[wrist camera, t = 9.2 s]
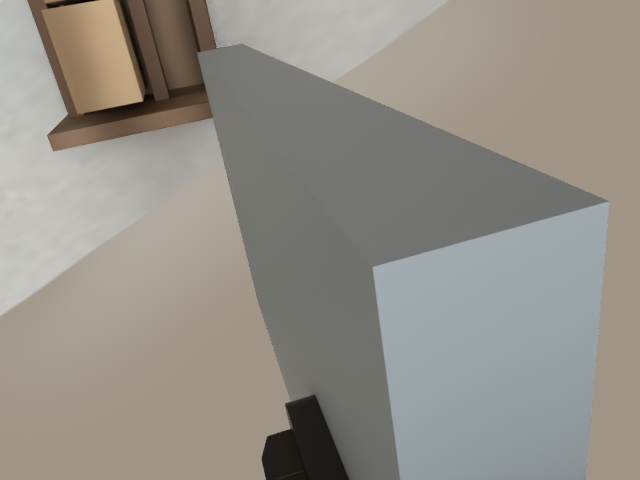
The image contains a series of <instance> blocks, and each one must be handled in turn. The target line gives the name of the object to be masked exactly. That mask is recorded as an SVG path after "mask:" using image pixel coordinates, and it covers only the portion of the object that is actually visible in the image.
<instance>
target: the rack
mask: <svg viewBox="0 0 640 480" xmlns="http://www.w3.org/2000/svg"><path fill="white" fill-rule="evenodd" d="M119 1H121V2H124V4H125V8H126V11H127V15H128V18H129V22H130V25H131V29H132V32H133V36H134V39H135V43H136V46H137V50H138V53H139V57H140V60H141V64H142V67H143V70H144V74H145V77H146V81H147V87H146V91H145V95H144V100H143V101H142V102H137V103H132V104H127V105H122V106H117V107H112V108H107V109H102V110H97V111H92V112H87V113H82V114H77V111H76V108H75V105H74V102H73V100H72V97H71V94H70V91H69V88H68V85H67V82H66V80H65V77H64V74H63V71H62V68H61V65H60V62H59V60H58V57H57V54H56V51H55V48H54V45H53V42H52V40H51V37H50V34H49V31H48V28H47V25H46V23H45V20H44V17H43V14H42V11H41V10H44V9H50V8H56V7H62V6H63V5H55V4H47V3H45V1H44V0H28V3H29V6H30V9H31V11H32V14H33V17H34V20H35V23H36V25H37V28H38V31H39V34H40V37H41V39H42V42H43V45H44V48H45V51H46V53H47V56H48V59H49V62H50V65H51V67H52V70H53V73H54V76H55V79H56V81H57V84H58V87H59V90H60V92H61V95H62V98H63V101H64V104H65V106H66V109H67V112H68V115H67V116H66V117H65V118H64V119H63V120H62V121H61V122H60V123H59V124H58V125H57V126H56V127H55V128H54V129H53V130H52V131H51V132H50V133H49V134H48V135H47V136H48V139H49V141H50V144H51V147H52V149H53V151H57V150H62V149H67V148H72V147H76V146H81V145H86V144H90V143H95V142H100V141H105V140H109V139H114V138H119V137H124V136H128V135H133V134H138V133H142V132H147V131H152V130H157V129H161V128H166V127H171V126H176V125H180V124H185V123H190V122H194V121H199V120H204V119H209V118H213V116H212V112H211V107H210V103H209V99H208V95H207V91H206V87H205V83H204V79H203V75H202V71H201V67H200V63H199V58H198V54H197V53H198V52H203V51H208V50H213V49H217V48H216V44H215V40H214V35H213V31H212V27H211V22H210V18H209V13H208V9H207V5H206V0H119Z"/></svg>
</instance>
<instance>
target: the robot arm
mask: <svg viewBox="0 0 640 480" xmlns="http://www.w3.org/2000/svg"><path fill="white" fill-rule="evenodd" d="M285 407H286V411H287V416H288V420H289V423H290V428H291V429H289V430H286V431H283V432H280V433H277V434H273V435H270V436H268V437H267V440H266V443H265V448H264V451H263V455H262V463H263V467H264V472H265V477H266V480H349V478H348V475H347V473H346V470H345V468H344V465H343V463H342V460H341V458H340V455H339V453H338V450H337V448H336V445H335V443H334V440H333V438H332V435H331V433H330V430H329V428H328V425H327V423H326V420H325V418H324V415H323V413H322V410H321V408H320V405H319V403H318V400H317V398H316V396H315V394H314V395H311V396H307V397H304V398H301V399H298V400H295V401H292V402H289V403H286V404H285Z"/></svg>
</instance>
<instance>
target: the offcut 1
mask: <svg viewBox="0 0 640 480" xmlns="http://www.w3.org/2000/svg"><path fill="white" fill-rule="evenodd" d="M44 1H45V3H47V4H55V5H63V6H68V5H74V4H80V3H87V2H93V1H99V0H44Z"/></svg>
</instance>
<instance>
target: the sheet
mask: <svg viewBox="0 0 640 480" xmlns="http://www.w3.org/2000/svg"><path fill="white" fill-rule="evenodd" d="M197 54H198V58H199V63H200V67H201V71H202V75H203V79H204V83H205V87H206V91H207V95H208V99H209V103H210V107H211V112H212V116H213V120H214V124H215V128H216V132H217V136H218V140H219V144H220V148H221V152H222V156H223V160H224V165H225V169H226V172H227V177H228V181H229V185H230V189H231V193H232V197H233V201H234V205H235V209H236V214H237V218H238V222H239V226H240V230H241V234H242V238H243V242H244V246H245V250H246V254H247V258H248V262H249V267H250V271H251V274H252V279H253V283H254V287H255V291H256V295H257V299H258V303H259V306H260V309H261V312H262V315H263V318H264V321H265V324H266V327H267V330H268V333H269V336H270V339H271V342H272V345H273V348H274V351H275V354H276V358H277V361H278V364H279V367H280V370H281V373H282V375H283V379H284V382H285V385H286V388H287V391H288V394H289V397H290V400H291V402H292V401H295V400H298V399H301V398H304V397H307V396H311V395H314V394H315V396H316V398H317V400H318V403H319V405H320V408H321V410H322V413H323V415H324V418H325V420H326V423H327V425H328V428H329V430H330V433H331V435H332V438H333V440H334V443H335V445H336V448H337V450H338V453H339V455H340V458H341V460H342V463H343V465H344V468H345V470H346V473H347V475H348V478H349V480H585V479H586V467H587V456H588V445H589V432H590V421H591V410H592V409H591V408H592V397H593V387H594V375H595V363H596V351H597V340H598V329H599V317H600V305H601V294H602V282H603V271H604V258H605V248H606V235H607V224H608V212H609V201H607V200H605V199H603V198H600V197H598V196H596V195H593V194H591V193H589V192H586V191H584V190H582V189H579V188H577V187H575V186H572V185H570V184H568V183H565V182H563V181H561V180H558V179H556V178H554V177H551V176H549V175H547V174H544V173H542V172H539V171H537V170H535V169H533V168H530V167H528V166H526V165H523V164H521V163H518V162H516V161H514V160H512V159H509V158H507V157H505V156H502V155H500V154H498V153H495V152H493V151H490V150H488V149H486V148H483V147H481V146H479V145H476V144H474V143H472V142H469V141H467V140H465V139H462V138H460V137H458V136H455V135H453V134H451V133H448V132H446V131H444V130H441V129H439V128H436V127H434V126H432V125H430V124H427V123H425V122H423V121H420V120H418V119H416V118H413V117H411V116H409V115H406V114H404V113H401V112H399V111H397V110H394V109H392V108H390V107H387V106H385V105H383V104H381V103H378V102H376V101H373V100H371V99H369V98H366V97H364V96H362V95H359V94H357V93H355V92H352V91H350V90H348V89H345V88H343V87H341V86H338V85H336V84H334V83H331V82H329V81H327V80H324V79H322V78H320V77H317V76H315V75H313V74H310V73H308V72H306V71H303V70H301V69H299V68H296V67H294V66H292V65H289V64H287V63H285V62H282V61H280V60H278V59H275V58H273V57H271V56H268V55H266V54H264V53H261V52H259V51H257V50H254V49H252V48H250V47H247V46H245V45H243V44H240V45H234V46H229V47H224V48H219V49H213V50H208V51H203V52H198V53H197Z"/></svg>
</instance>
